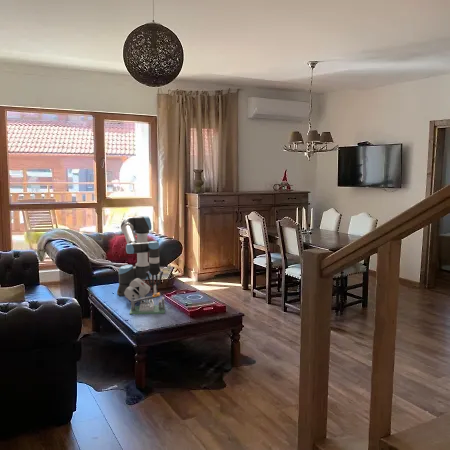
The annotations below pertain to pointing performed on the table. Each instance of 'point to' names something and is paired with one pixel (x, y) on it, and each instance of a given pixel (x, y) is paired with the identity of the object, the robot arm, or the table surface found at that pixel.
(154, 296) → the strap
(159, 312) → the board
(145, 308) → the heatsink
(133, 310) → the forked tab bracket
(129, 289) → the robotic device
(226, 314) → the table surface
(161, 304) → the lug
